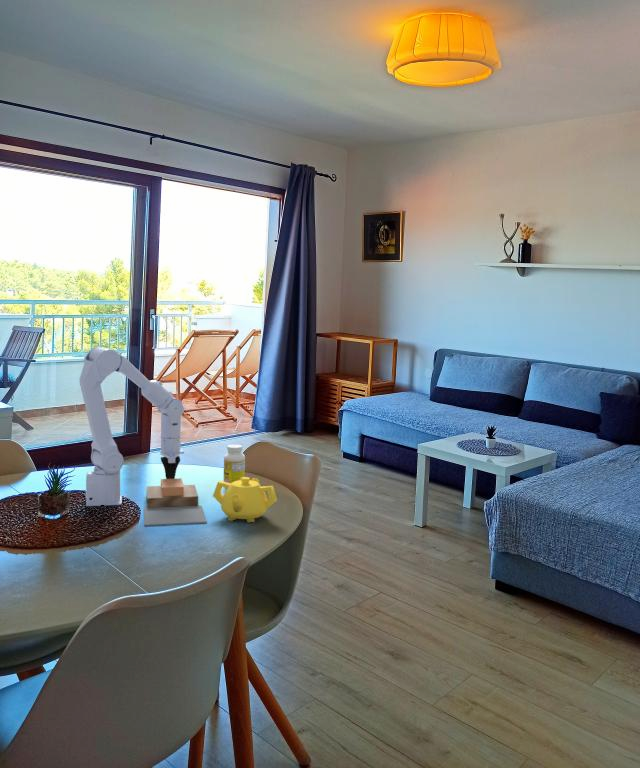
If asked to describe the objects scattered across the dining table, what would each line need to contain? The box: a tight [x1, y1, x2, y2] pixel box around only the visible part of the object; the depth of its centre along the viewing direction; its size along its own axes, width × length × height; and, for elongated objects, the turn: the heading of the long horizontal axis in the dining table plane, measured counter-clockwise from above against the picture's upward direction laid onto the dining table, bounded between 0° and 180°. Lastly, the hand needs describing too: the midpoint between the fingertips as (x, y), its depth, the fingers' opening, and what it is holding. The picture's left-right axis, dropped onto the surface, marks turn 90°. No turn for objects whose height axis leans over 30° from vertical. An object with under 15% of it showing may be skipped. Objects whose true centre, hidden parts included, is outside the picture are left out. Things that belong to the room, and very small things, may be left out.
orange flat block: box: [160, 478, 184, 496], centre depth 200 cm, size 6×9×2 cm, turn 15°
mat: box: [143, 505, 208, 527], centre depth 188 cm, size 16×14×1 cm
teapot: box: [212, 476, 278, 523], centre depth 188 cm, size 20×18×11 cm
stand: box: [146, 484, 199, 508], centre depth 200 cm, size 14×12×3 cm
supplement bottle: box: [223, 444, 246, 483], centre depth 218 cm, size 7×7×13 cm
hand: (170, 480), depth 209 cm, fingers closed
